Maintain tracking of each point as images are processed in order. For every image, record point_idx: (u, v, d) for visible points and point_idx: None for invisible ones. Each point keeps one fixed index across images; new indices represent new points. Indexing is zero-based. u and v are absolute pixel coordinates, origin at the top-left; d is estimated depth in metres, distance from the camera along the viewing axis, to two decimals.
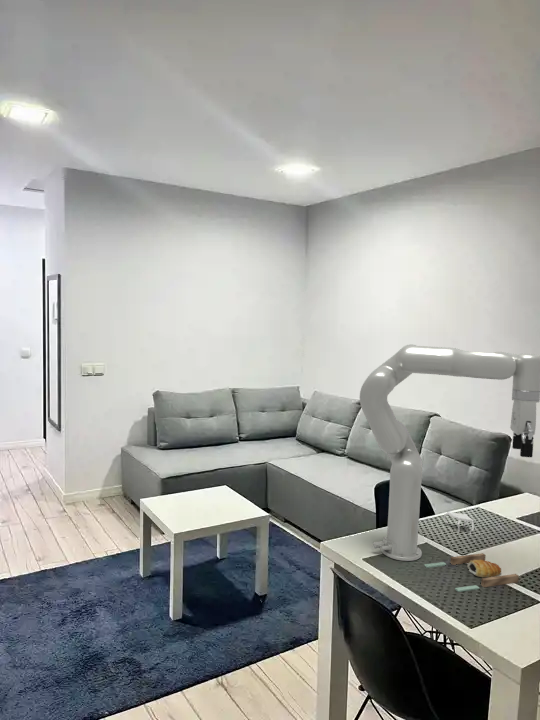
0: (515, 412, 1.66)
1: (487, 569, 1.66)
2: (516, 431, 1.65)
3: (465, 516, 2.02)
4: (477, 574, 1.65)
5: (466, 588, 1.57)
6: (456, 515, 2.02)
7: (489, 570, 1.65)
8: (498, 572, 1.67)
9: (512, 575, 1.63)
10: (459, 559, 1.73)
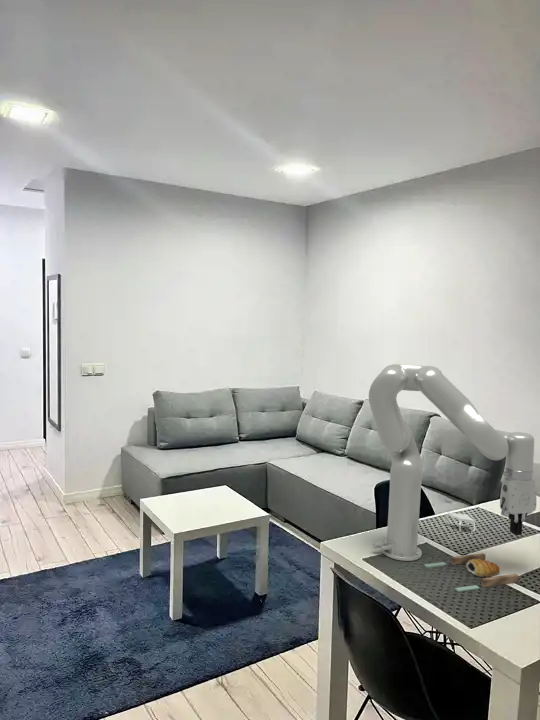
0: (527, 492, 1.67)
1: (485, 568, 1.66)
2: (533, 509, 1.68)
3: (466, 516, 2.01)
4: (476, 573, 1.66)
5: (466, 588, 1.57)
6: (457, 515, 2.02)
7: (487, 570, 1.66)
8: (497, 571, 1.67)
9: (512, 575, 1.63)
10: (459, 559, 1.73)
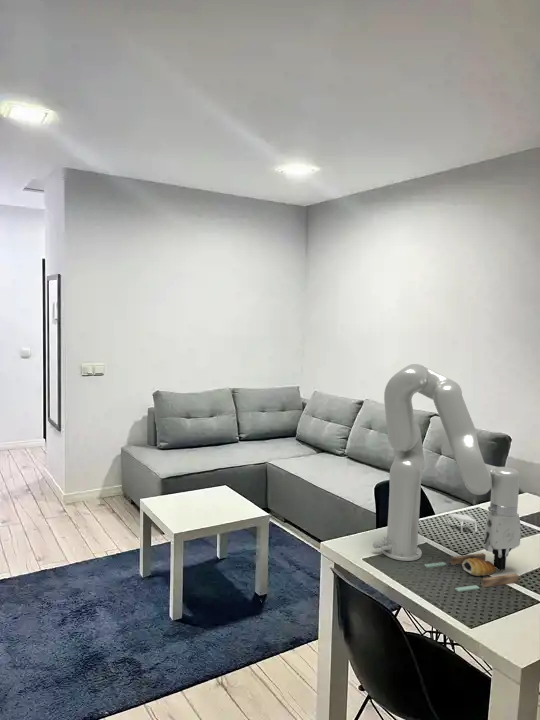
0: (512, 528, 1.67)
1: (482, 567, 1.66)
2: (517, 544, 1.68)
3: (468, 517, 2.01)
4: (472, 573, 1.66)
5: (466, 588, 1.57)
6: (459, 516, 2.01)
7: (484, 569, 1.66)
8: (492, 570, 1.68)
9: (512, 575, 1.63)
10: (459, 559, 1.73)
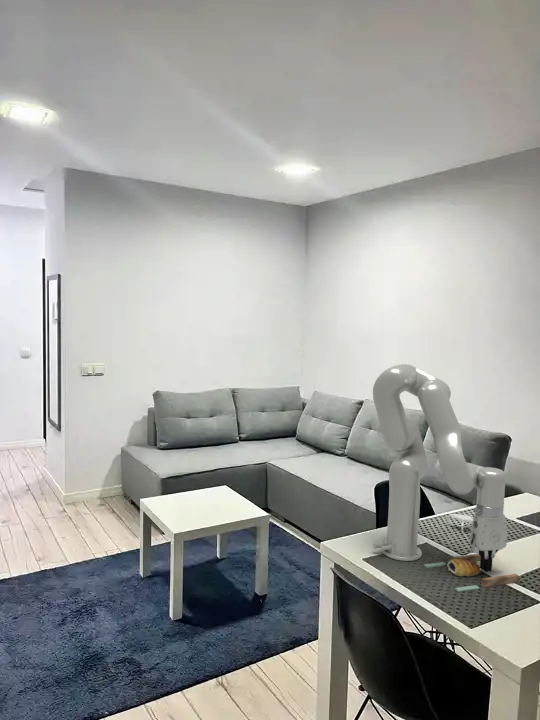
0: (498, 529, 1.65)
1: (466, 568, 1.65)
2: (503, 545, 1.66)
3: (468, 517, 2.01)
4: (456, 573, 1.65)
5: (466, 588, 1.57)
6: (459, 516, 2.01)
7: (468, 569, 1.65)
8: (477, 571, 1.67)
9: (512, 575, 1.63)
10: None
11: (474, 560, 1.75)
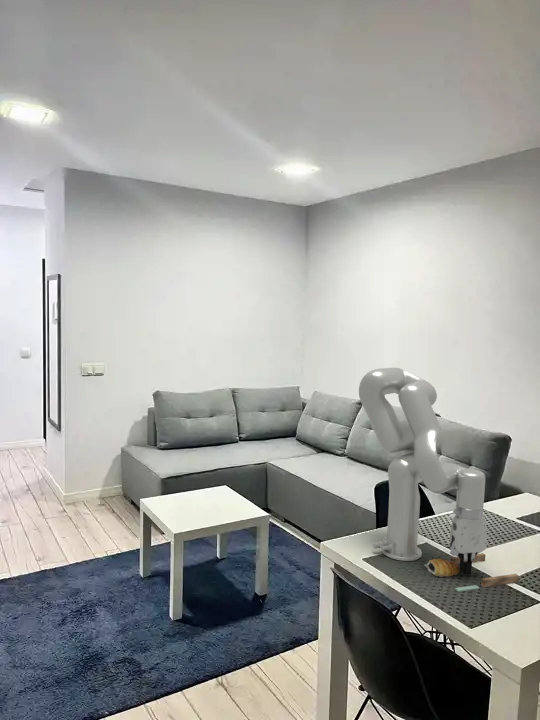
0: (477, 531, 1.63)
1: (445, 568, 1.65)
2: (483, 548, 1.64)
3: None
4: (436, 574, 1.64)
5: (466, 588, 1.57)
6: None
7: (447, 570, 1.65)
8: (457, 571, 1.66)
9: (512, 575, 1.63)
10: (459, 559, 1.73)
11: (474, 560, 1.75)
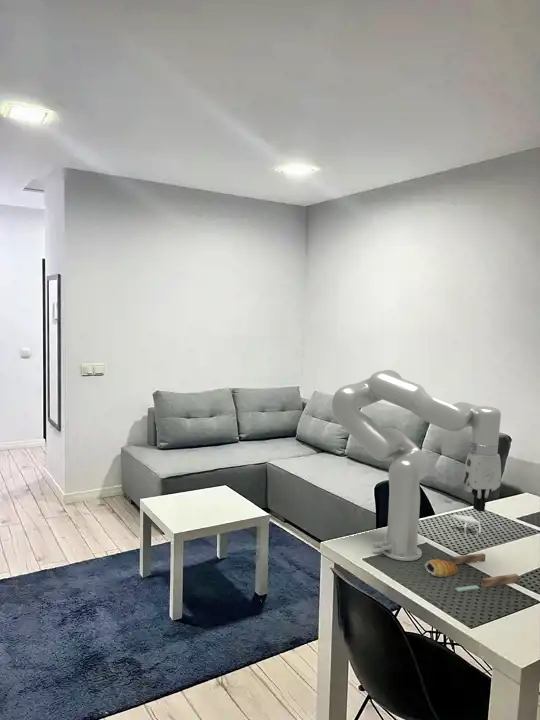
0: (492, 468, 1.63)
1: (444, 569, 1.65)
2: (497, 485, 1.64)
3: (471, 518, 2.00)
4: (435, 574, 1.64)
5: (466, 588, 1.57)
6: (462, 517, 2.00)
7: (446, 570, 1.65)
8: (455, 571, 1.67)
9: (512, 575, 1.63)
10: (459, 559, 1.73)
11: (474, 560, 1.75)
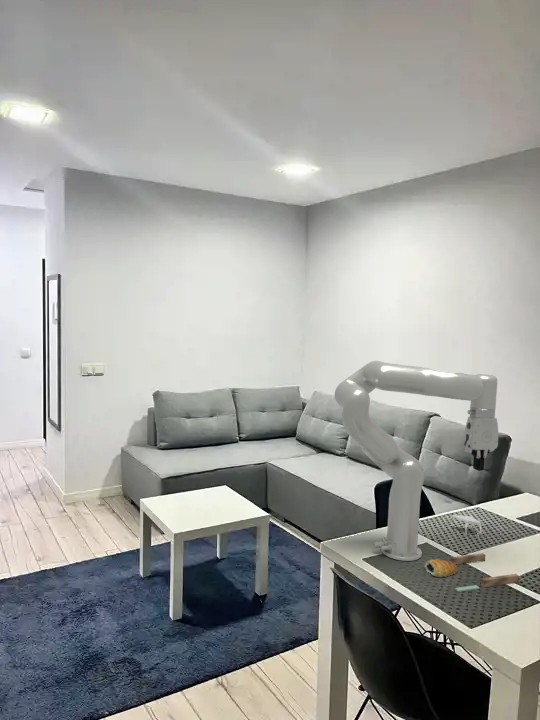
0: (490, 430, 1.78)
1: (444, 569, 1.65)
2: (494, 446, 1.79)
3: (472, 518, 2.00)
4: (435, 574, 1.64)
5: (466, 588, 1.57)
6: (463, 518, 2.00)
7: (446, 570, 1.65)
8: (455, 571, 1.67)
9: (512, 575, 1.63)
10: (459, 559, 1.73)
11: (474, 560, 1.75)
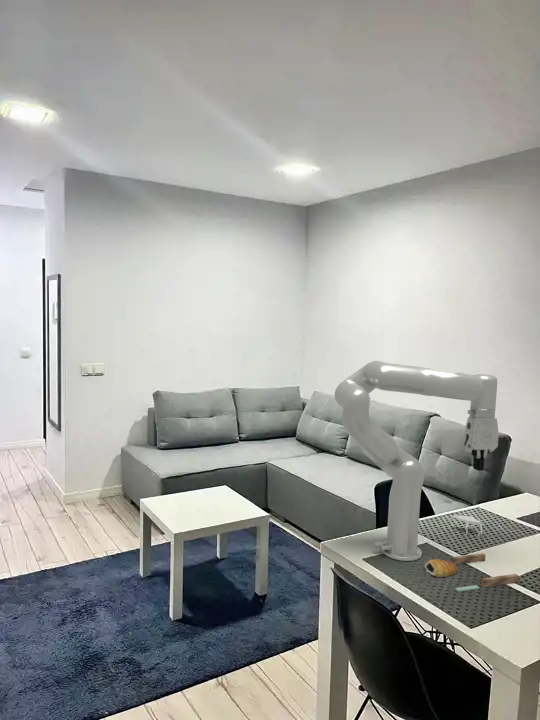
0: (490, 430, 1.78)
1: (444, 569, 1.65)
2: (494, 446, 1.79)
3: (472, 519, 1.99)
4: (435, 574, 1.64)
5: (466, 588, 1.57)
6: (463, 518, 2.00)
7: (446, 570, 1.65)
8: (455, 571, 1.67)
9: (512, 575, 1.63)
10: (459, 559, 1.73)
11: (474, 560, 1.75)
